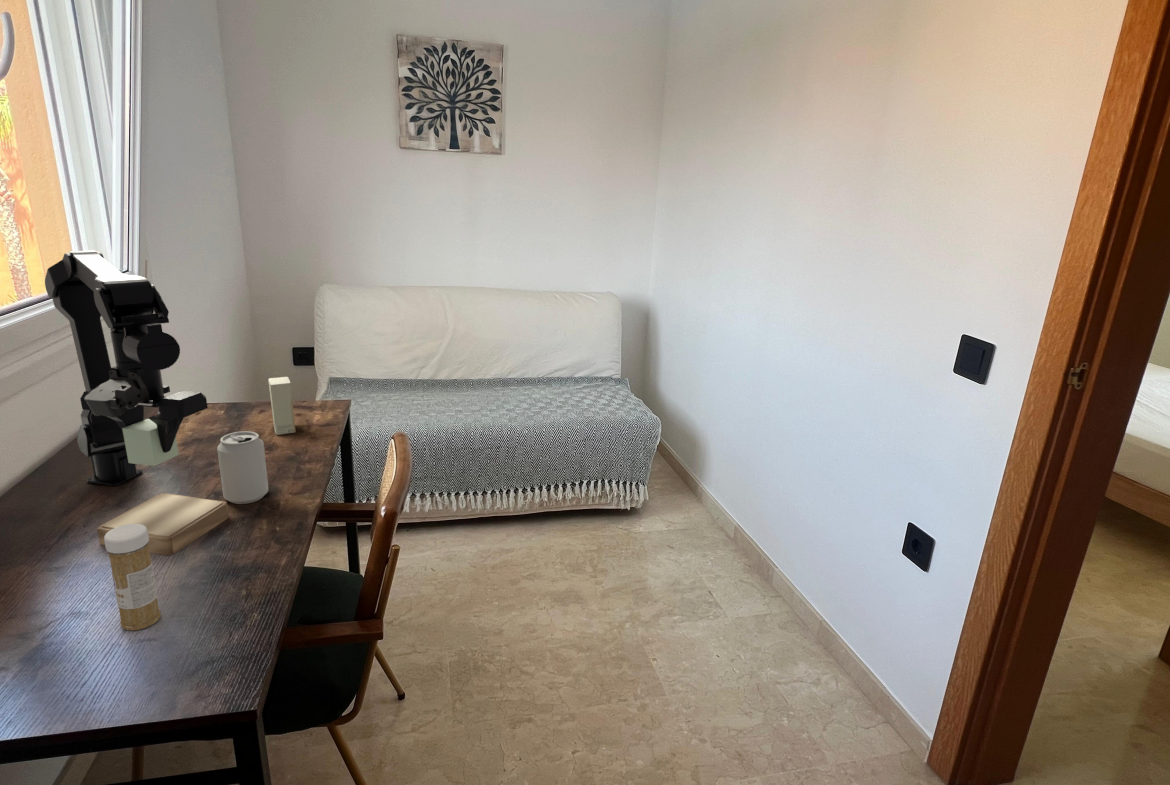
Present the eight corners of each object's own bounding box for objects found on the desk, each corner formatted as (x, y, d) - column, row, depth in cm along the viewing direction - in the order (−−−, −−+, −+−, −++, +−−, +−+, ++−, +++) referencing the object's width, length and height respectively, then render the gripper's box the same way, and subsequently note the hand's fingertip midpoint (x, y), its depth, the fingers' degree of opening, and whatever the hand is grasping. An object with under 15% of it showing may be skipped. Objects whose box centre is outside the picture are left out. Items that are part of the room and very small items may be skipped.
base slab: (98, 544, 105) (95, 527, 104) (164, 506, 117) (161, 491, 116) (171, 555, 102) (168, 538, 101) (230, 516, 115) (228, 501, 114)
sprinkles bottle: (115, 621, 87) (98, 531, 83) (154, 606, 90) (139, 518, 86) (127, 637, 84) (110, 544, 80) (167, 621, 88) (152, 531, 84)
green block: (128, 462, 108) (122, 428, 106) (153, 452, 112) (147, 418, 111) (155, 465, 107) (149, 430, 105) (178, 454, 112) (173, 421, 110)
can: (250, 508, 118) (243, 446, 114) (214, 503, 119) (205, 441, 116) (277, 490, 125) (271, 431, 121) (242, 485, 126) (235, 427, 123)
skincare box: (296, 433, 153) (291, 383, 149) (275, 435, 151) (269, 385, 147) (293, 424, 158) (288, 375, 155) (272, 426, 156) (267, 377, 153)
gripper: (38, 366, 99) (59, 463, 103) (147, 375, 96) (163, 474, 100) (103, 350, 109) (119, 439, 114) (203, 358, 106) (216, 448, 110)
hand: (152, 450), depth 109 cm, fingers closed on green block, 5 cm apart
